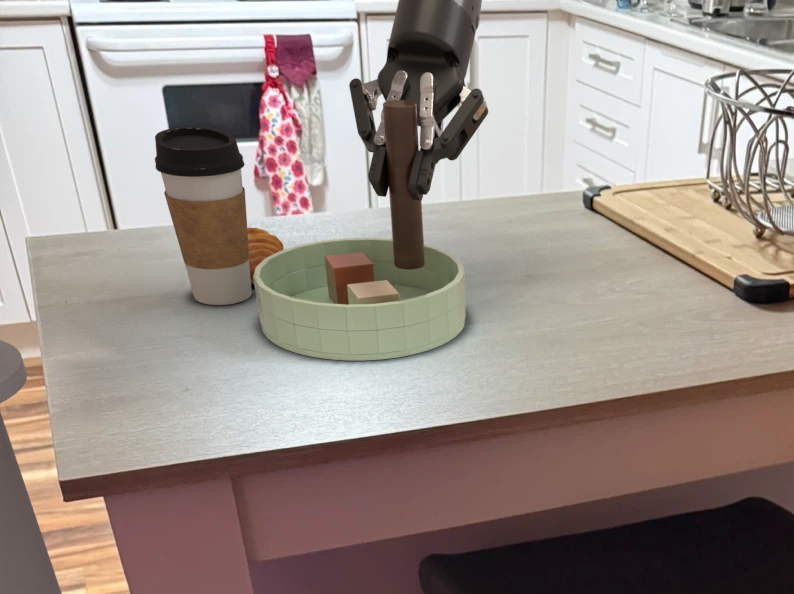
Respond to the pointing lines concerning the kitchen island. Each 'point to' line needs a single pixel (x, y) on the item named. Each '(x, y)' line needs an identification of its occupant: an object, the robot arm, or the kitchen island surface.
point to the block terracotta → (346, 274)
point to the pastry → (261, 247)
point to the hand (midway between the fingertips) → (396, 192)
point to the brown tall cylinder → (403, 183)
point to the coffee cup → (207, 210)
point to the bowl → (359, 323)
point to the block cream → (372, 293)
